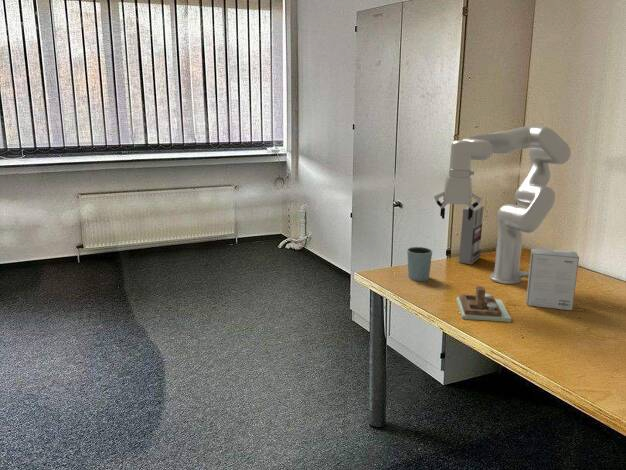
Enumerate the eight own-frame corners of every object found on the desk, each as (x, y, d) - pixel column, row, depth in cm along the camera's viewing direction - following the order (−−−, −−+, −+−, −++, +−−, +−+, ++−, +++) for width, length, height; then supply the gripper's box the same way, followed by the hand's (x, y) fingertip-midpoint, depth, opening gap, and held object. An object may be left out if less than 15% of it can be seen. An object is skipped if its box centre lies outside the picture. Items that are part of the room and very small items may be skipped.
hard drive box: (570, 304, 202) (577, 251, 197) (572, 311, 195) (580, 257, 190) (525, 298, 207) (531, 247, 202) (526, 305, 200) (532, 252, 195)
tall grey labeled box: (471, 265, 248) (476, 210, 242) (458, 262, 251) (462, 209, 245) (480, 258, 259) (485, 205, 253) (468, 255, 262) (472, 204, 256)
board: (500, 302, 203) (501, 292, 202) (510, 321, 185) (512, 310, 184) (456, 299, 205) (457, 289, 204) (462, 318, 187) (463, 307, 186)
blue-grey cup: (432, 281, 224) (434, 253, 221) (407, 281, 225) (409, 253, 222) (427, 274, 234) (429, 246, 231) (404, 273, 234) (405, 246, 231)
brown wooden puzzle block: (492, 299, 202) (494, 281, 200) (501, 316, 186) (503, 297, 185) (459, 297, 203) (460, 280, 202) (464, 314, 188) (466, 295, 186)
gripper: (481, 173, 208) (477, 217, 212) (435, 171, 210) (432, 215, 214) (485, 176, 200) (480, 221, 205) (436, 174, 203) (433, 219, 207)
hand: (455, 218), depth 209 cm, fingers open, 9 cm apart
